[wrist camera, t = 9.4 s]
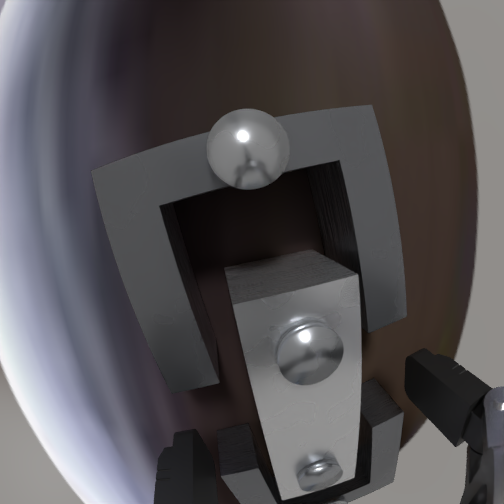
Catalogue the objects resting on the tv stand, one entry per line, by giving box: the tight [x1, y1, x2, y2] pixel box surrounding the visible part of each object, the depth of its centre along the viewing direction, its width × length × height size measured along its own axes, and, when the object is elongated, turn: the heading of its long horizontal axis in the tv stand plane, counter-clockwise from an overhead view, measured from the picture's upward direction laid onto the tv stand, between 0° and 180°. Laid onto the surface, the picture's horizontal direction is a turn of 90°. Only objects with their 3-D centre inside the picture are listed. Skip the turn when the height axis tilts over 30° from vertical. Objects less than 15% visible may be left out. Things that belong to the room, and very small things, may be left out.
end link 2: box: [217, 378, 404, 504], centre depth 12 cm, size 7×8×4 cm
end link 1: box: [91, 105, 407, 394], centre depth 9 cm, size 7×8×4 cm
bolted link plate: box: [224, 249, 362, 500], centre depth 10 cm, size 10×3×4 cm, turn 11°
